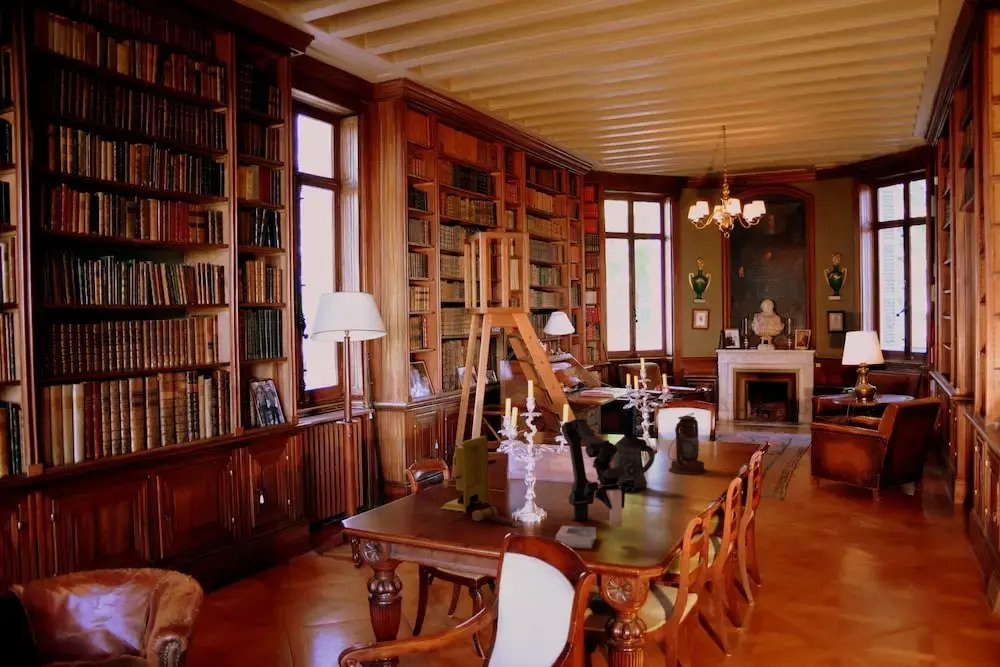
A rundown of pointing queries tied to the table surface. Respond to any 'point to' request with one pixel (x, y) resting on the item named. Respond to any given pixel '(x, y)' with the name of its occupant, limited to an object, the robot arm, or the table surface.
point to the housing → (577, 536)
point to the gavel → (492, 516)
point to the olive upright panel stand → (470, 474)
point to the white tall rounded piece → (615, 508)
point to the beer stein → (633, 460)
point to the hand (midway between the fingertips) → (617, 508)
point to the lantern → (687, 448)
